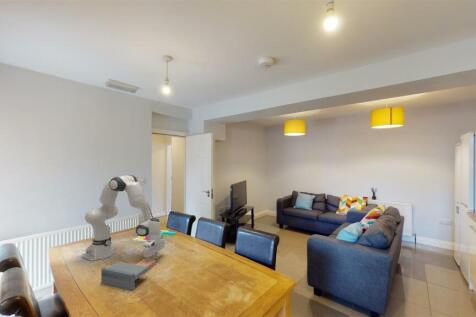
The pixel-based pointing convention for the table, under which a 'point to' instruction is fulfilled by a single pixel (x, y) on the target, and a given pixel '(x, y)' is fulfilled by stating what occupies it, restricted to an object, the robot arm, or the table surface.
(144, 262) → the tile
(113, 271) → the grey block
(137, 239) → the puzzle game
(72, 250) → the table surface
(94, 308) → the table surface
